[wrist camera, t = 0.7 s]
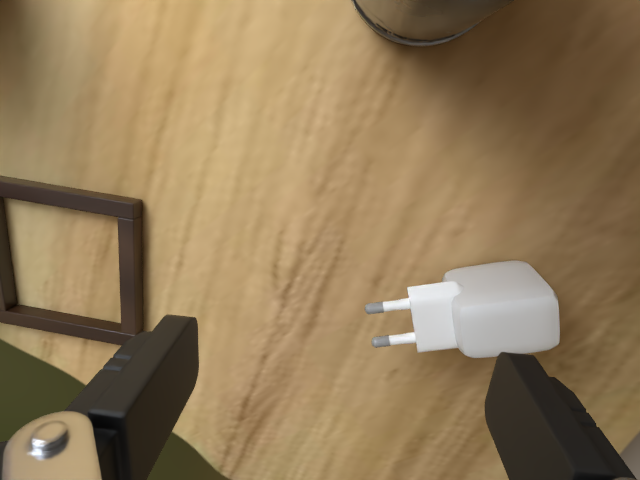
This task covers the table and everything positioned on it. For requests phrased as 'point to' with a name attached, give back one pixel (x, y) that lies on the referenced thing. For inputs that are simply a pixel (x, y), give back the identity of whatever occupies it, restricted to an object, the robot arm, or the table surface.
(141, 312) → the dark brown rectangular frame
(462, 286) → the power adapter
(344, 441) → the table surface
